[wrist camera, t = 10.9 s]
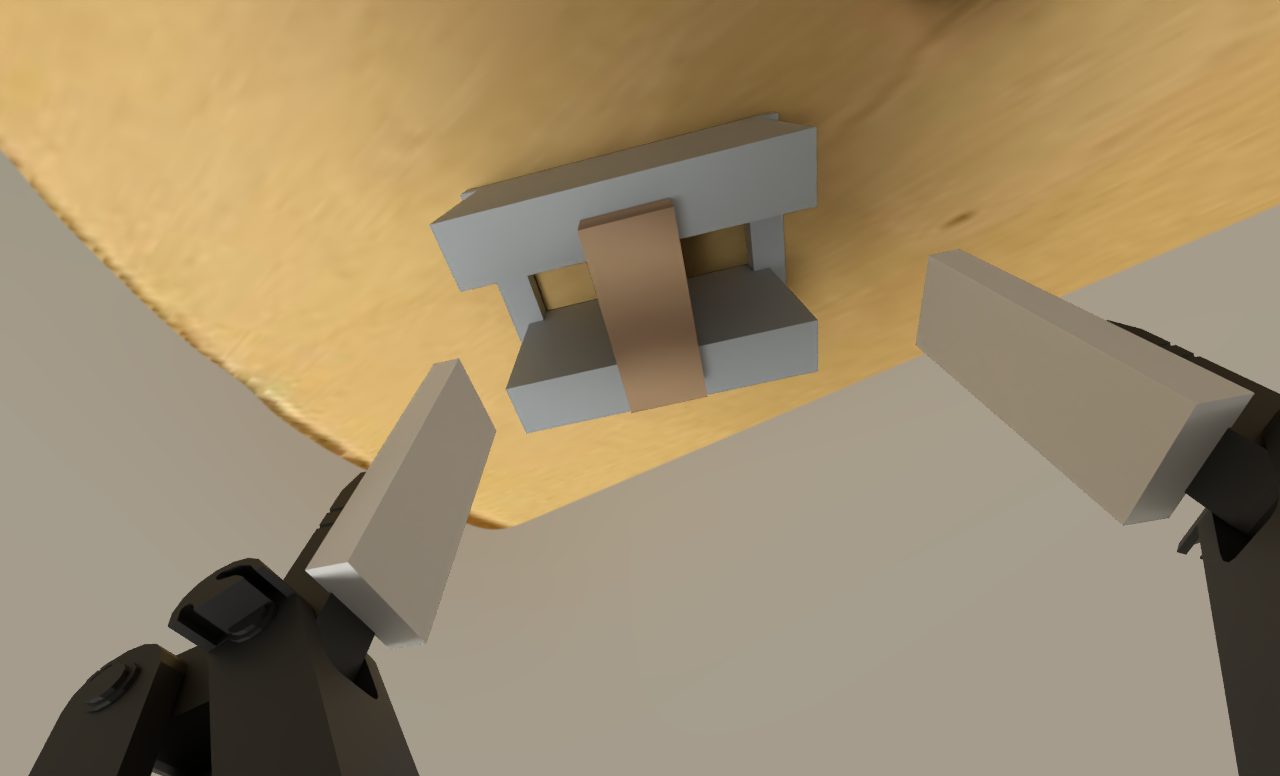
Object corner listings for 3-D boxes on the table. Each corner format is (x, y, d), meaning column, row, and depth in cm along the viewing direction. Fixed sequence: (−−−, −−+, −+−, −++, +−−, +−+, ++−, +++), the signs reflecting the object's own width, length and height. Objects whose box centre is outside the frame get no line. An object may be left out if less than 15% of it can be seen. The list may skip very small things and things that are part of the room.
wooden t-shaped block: (586, 187, 26) (575, 231, 18) (655, 170, 25) (676, 205, 17) (624, 327, 31) (629, 413, 22) (682, 314, 30) (709, 396, 22)
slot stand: (467, 190, 27) (406, 230, 19) (770, 112, 26) (842, 119, 18) (533, 354, 33) (508, 437, 25) (780, 298, 32) (837, 366, 24)
